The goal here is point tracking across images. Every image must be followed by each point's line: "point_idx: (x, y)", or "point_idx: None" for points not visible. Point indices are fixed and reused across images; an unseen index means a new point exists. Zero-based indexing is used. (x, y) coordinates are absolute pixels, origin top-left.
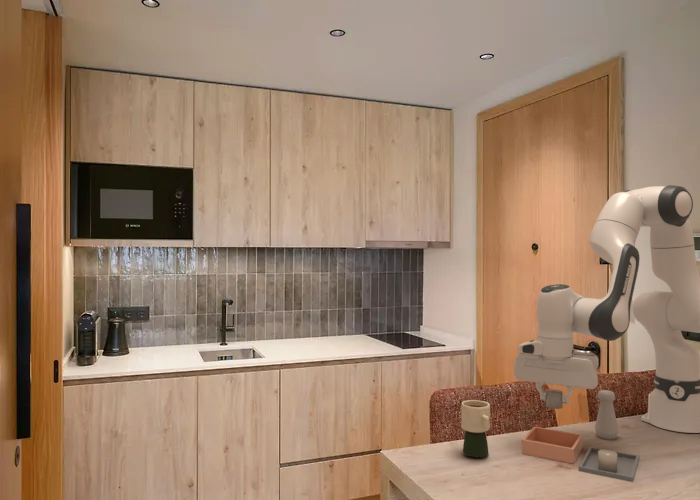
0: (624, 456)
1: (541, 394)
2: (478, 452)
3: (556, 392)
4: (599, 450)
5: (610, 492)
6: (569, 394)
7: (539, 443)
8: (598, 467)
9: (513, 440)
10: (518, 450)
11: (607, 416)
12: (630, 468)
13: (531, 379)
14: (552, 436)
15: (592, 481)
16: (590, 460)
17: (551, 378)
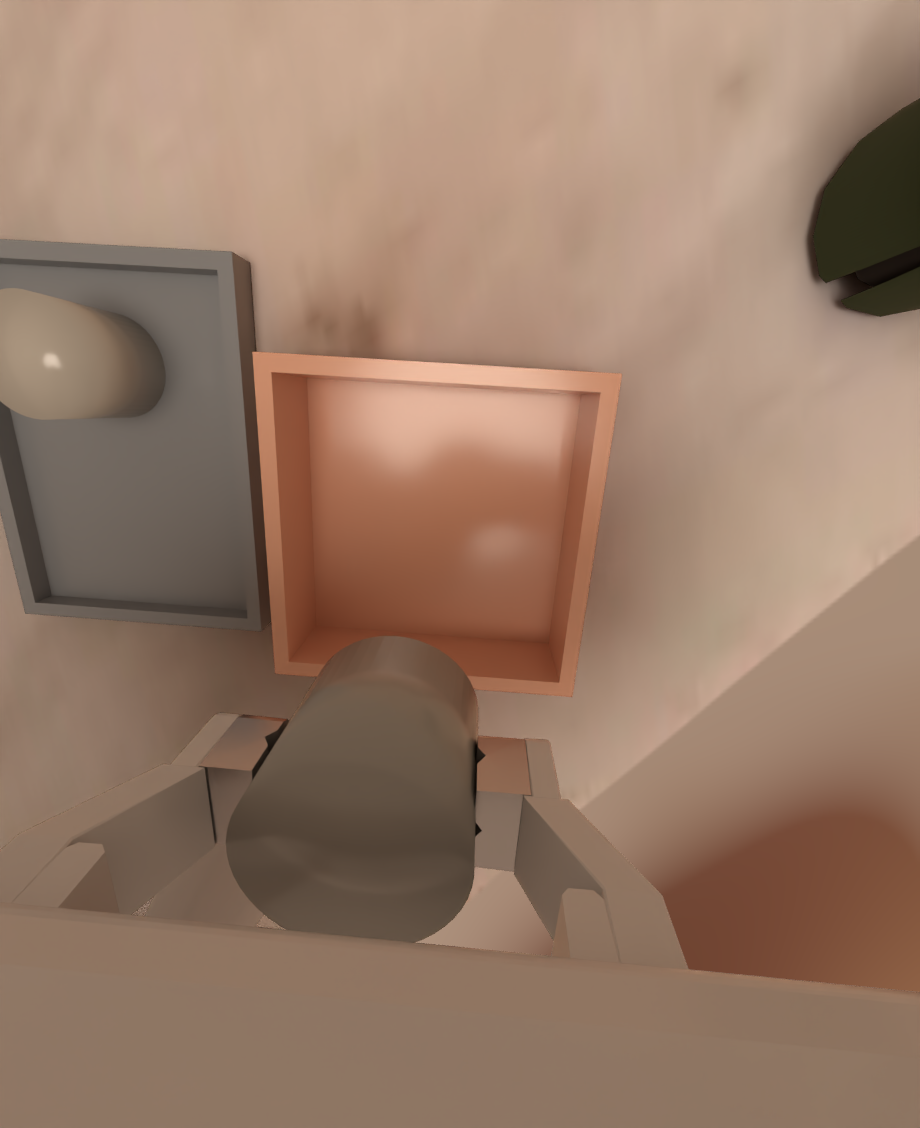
0: (99, 600)
1: (538, 785)
2: (917, 101)
3: (298, 798)
4: (84, 373)
5: (19, 15)
6: (114, 794)
7: (491, 367)
8: (151, 346)
9: (669, 615)
10: (624, 466)
11: (164, 916)
12: (32, 451)
13: (841, 1034)
14: (456, 654)
15: (151, 157)
16: (229, 470)
17: (270, 1113)
